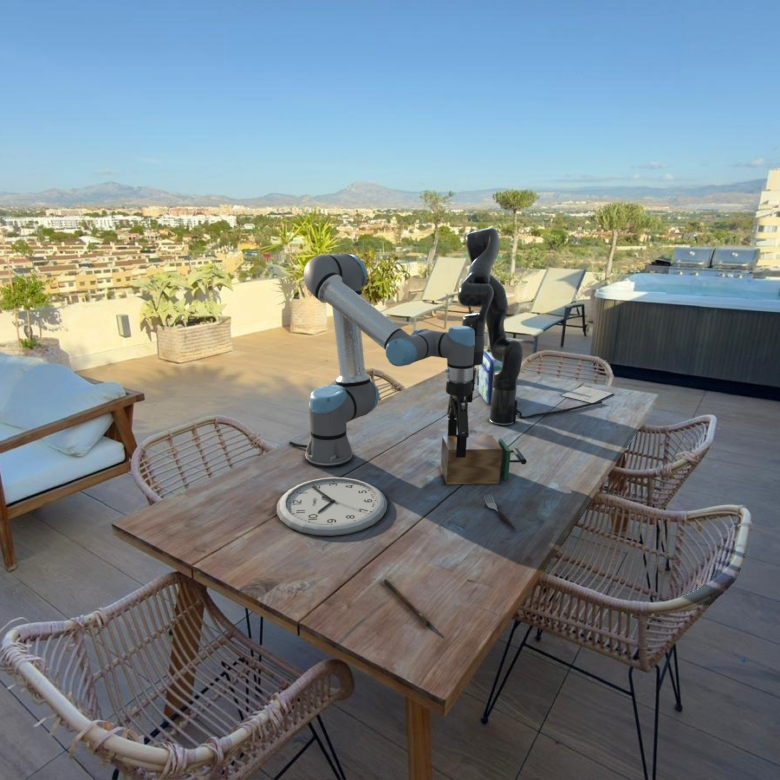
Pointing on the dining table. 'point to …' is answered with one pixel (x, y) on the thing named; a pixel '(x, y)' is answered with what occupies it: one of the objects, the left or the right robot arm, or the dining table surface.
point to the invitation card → (587, 394)
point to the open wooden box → (471, 460)
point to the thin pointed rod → (407, 602)
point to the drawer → (508, 458)
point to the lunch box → (487, 375)
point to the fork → (494, 506)
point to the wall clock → (331, 506)
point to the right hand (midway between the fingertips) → (468, 397)
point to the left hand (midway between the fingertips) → (456, 447)
